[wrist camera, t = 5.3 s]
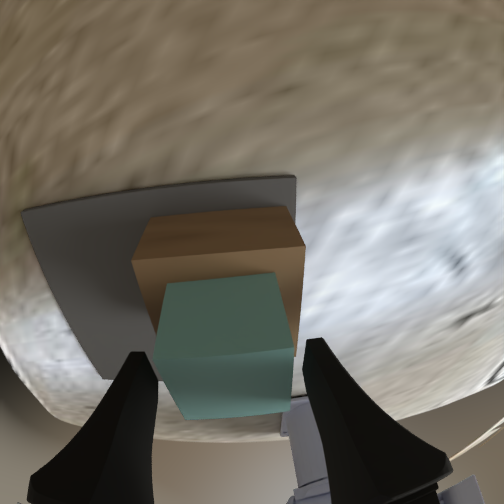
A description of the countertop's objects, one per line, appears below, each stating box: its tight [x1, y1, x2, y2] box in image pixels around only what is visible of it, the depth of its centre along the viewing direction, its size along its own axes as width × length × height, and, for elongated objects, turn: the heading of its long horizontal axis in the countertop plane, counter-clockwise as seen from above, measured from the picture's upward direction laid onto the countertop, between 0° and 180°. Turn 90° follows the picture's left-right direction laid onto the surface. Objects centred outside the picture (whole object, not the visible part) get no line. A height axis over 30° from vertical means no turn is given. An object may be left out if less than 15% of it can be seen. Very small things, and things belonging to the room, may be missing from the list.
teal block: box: [152, 272, 294, 420], centre depth 12 cm, size 4×4×4 cm
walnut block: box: [131, 206, 306, 357], centre depth 15 cm, size 7×7×4 cm
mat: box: [21, 175, 296, 381], centre depth 18 cm, size 16×16×1 cm
